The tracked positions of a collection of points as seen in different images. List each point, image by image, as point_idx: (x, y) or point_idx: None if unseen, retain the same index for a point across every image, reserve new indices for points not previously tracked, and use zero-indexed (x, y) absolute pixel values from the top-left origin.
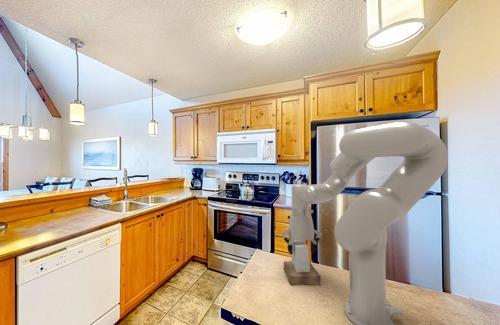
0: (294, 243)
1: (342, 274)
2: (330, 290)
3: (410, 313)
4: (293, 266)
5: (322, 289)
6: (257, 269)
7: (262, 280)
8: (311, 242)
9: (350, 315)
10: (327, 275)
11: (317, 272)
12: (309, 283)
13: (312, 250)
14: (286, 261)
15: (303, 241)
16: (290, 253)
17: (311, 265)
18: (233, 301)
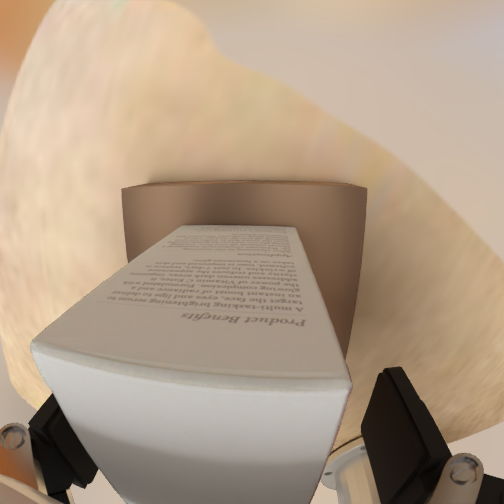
0: (109, 473)
1: (488, 260)
2: (353, 384)
3: (476, 423)
4: None
5: None
6: (18, 199)
7: (46, 298)
8: (427, 467)
9: (324, 477)
10: (420, 269)
11: (345, 355)
12: None
13: (372, 438)
14: (142, 190)
15: (300, 473)
16: None
17: (351, 265)
18: (15, 377)
